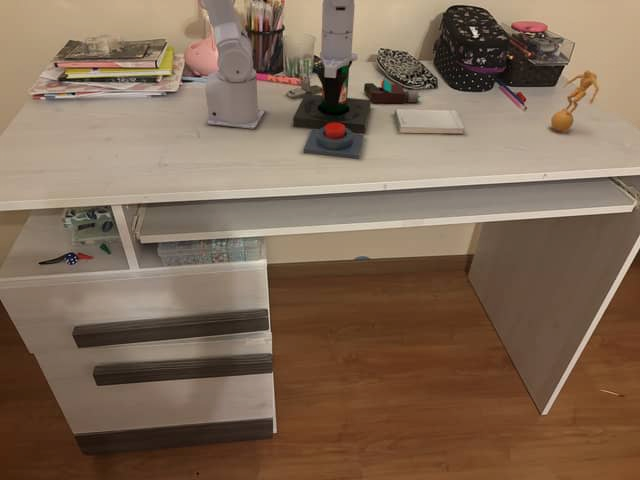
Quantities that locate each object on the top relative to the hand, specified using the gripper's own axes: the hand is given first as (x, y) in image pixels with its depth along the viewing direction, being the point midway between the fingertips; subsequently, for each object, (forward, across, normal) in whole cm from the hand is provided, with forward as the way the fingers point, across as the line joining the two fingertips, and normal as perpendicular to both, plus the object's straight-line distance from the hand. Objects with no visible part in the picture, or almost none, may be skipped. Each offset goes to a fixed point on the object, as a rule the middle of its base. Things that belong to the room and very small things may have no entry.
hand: (334, 100), depth 102 cm
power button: (+2, -12, -2) cm, 12 cm away
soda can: (+4, 0, 0) cm, 4 cm away
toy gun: (+4, +14, -11) cm, 18 cm away
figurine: (+4, +5, -46) cm, 46 cm away
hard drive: (+4, +1, -19) cm, 19 cm away
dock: (+4, 0, 0) cm, 4 cm away
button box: (+4, -12, -2) cm, 13 cm away
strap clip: (+4, +11, +8) cm, 14 cm away
